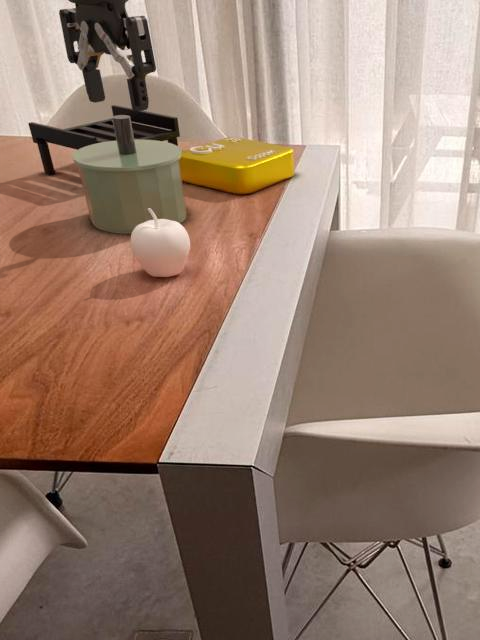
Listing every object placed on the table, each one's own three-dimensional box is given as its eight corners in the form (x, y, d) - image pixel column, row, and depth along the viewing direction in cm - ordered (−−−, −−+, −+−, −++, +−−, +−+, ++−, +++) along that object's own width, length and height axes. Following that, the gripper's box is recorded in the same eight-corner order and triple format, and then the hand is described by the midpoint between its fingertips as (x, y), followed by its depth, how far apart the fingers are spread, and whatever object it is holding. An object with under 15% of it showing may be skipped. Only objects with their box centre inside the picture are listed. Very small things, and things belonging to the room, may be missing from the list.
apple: (126, 270, 86) (113, 205, 81) (177, 257, 90) (167, 194, 85) (152, 288, 82) (139, 221, 77) (204, 274, 86) (195, 209, 81)
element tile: (244, 196, 110) (242, 165, 107) (175, 180, 116) (171, 150, 113) (299, 174, 120) (298, 145, 117) (233, 161, 126) (230, 132, 122)
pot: (136, 241, 94) (123, 176, 89) (72, 220, 100) (56, 158, 94) (205, 214, 103) (197, 154, 97) (143, 197, 109) (132, 139, 103)
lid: (124, 182, 88) (114, 135, 85) (51, 163, 95) (39, 118, 91) (204, 158, 98) (199, 115, 94) (133, 142, 104) (126, 101, 101)
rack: (103, 191, 110) (92, 137, 105) (41, 174, 117) (27, 122, 112) (184, 167, 122) (177, 117, 117) (123, 152, 129) (114, 104, 124)
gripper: (25, -48, 82) (61, 103, 92) (104, -43, 76) (133, 118, 86) (77, -50, 87) (105, 94, 97) (155, -45, 81) (177, 108, 91)
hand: (118, 105), depth 92 cm, fingers open, 8 cm apart
